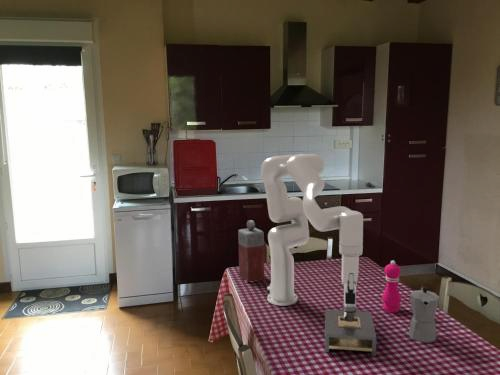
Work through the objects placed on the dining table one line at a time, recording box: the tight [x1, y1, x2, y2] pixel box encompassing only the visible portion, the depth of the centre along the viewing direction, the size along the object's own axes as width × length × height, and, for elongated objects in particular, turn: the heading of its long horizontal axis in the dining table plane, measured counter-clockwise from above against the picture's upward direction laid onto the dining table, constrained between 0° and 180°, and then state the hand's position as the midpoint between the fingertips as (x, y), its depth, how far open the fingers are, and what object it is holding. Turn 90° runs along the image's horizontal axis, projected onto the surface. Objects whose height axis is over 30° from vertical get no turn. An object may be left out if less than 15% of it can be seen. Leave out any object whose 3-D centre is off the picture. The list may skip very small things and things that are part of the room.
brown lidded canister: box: [237, 219, 268, 282], centre depth 207 cm, size 9×11×28 cm
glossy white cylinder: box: [342, 282, 357, 322], centre depth 150 cm, size 4×4×14 cm
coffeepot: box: [407, 285, 440, 344], centre depth 154 cm, size 15×9×18 cm, turn 163°
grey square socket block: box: [324, 308, 377, 357], centre depth 152 cm, size 18×16×7 cm
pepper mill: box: [381, 260, 402, 314], centre depth 173 cm, size 7×7×20 cm
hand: (349, 300), depth 150 cm, fingers closed on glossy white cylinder, 4 cm apart
